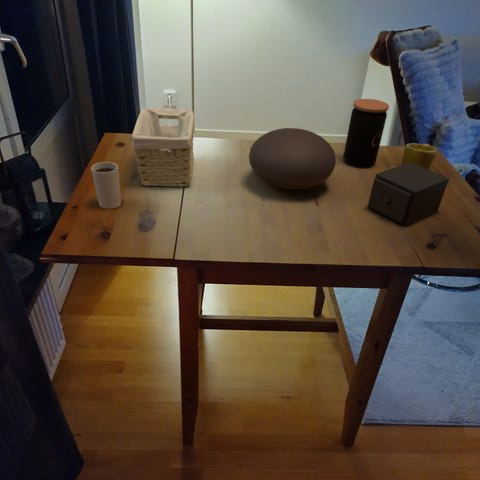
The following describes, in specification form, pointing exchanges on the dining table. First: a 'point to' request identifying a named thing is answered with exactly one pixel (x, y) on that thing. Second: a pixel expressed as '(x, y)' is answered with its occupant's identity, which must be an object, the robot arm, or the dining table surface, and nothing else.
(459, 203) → the dining table surface
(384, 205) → the drawer
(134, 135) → the basket
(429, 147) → the mug
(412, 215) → the cabinet
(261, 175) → the flattened ellipsoid
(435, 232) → the dining table surface
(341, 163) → the dining table surface
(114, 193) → the white coffee cup
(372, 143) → the coffee jar
